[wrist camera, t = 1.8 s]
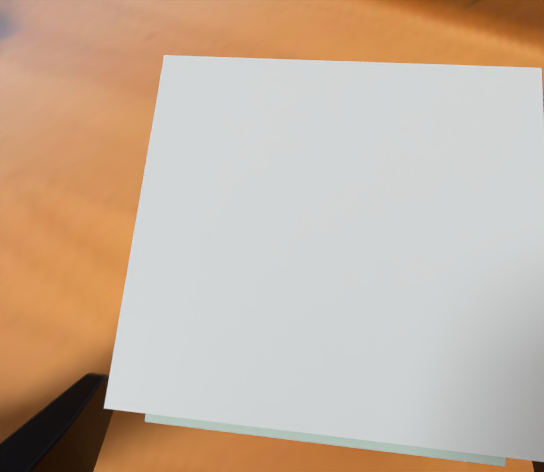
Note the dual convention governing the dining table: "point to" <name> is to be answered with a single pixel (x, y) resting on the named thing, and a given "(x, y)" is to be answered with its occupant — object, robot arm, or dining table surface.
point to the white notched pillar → (341, 257)
